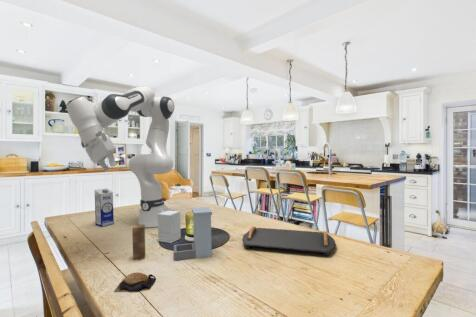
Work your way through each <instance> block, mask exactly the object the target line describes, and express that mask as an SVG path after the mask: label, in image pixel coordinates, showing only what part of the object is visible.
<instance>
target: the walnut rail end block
mask: <svg viewBox="0 0 476 317" xmlns="http://www.w3.org/2000/svg"><path fill="white" fill-rule="evenodd" d="M145 229H146V227H145V224H144V225H139V224H134V225H133V226H132V228H131V235H132V238H131V239H132V260H133V261H137V260H138V261H139V260H145V258H146V230H145Z"/></svg>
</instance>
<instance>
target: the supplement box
mask: <svg viewBox="0 0 476 317" xmlns="http://www.w3.org/2000/svg"><path fill="white" fill-rule="evenodd" d="M157 232H158V233H157V234H158V236H157V237H158V242H161V243H166V244H168V243H169V244H173V243H174V242H176V241H178V240H180V239H181V238H182V235H181V212H180V211H178V210H177V211H176V210H171V211H165V212H162V213H159V214H158V227H157Z"/></svg>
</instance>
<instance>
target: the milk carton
mask: <svg viewBox="0 0 476 317" xmlns="http://www.w3.org/2000/svg"><path fill="white" fill-rule="evenodd" d="M94 212H95V213H94V214H95V226H98V227H99V228H103V227H107V226H112V225H114V224H115V223H114V222H115V221H114V220H115V216H114V192H113V191H112V190H111V189H109V188H107V187H106V188H99V189H94Z"/></svg>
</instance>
